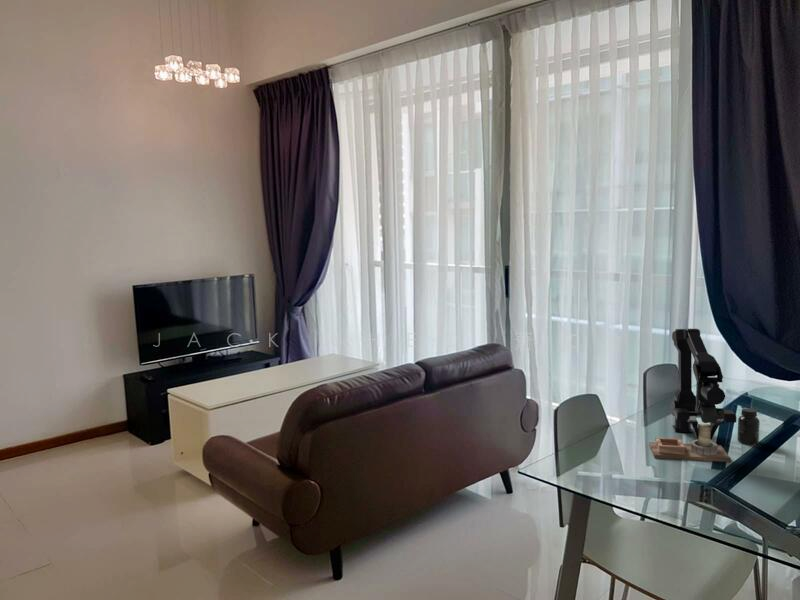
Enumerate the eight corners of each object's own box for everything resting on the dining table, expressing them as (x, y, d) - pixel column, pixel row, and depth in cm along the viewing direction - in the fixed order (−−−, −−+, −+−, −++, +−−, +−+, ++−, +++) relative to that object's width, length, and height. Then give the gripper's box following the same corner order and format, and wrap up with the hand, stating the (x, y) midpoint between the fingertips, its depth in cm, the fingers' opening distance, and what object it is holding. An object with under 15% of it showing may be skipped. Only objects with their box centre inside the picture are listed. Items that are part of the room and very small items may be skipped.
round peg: (696, 444, 217) (696, 423, 216) (708, 445, 216) (709, 423, 215) (698, 449, 213) (699, 427, 212) (711, 449, 212) (712, 427, 211)
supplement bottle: (761, 445, 220) (763, 413, 218) (740, 445, 221) (742, 412, 220) (754, 438, 227) (756, 407, 225) (734, 438, 228) (735, 406, 226)
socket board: (648, 445, 225) (649, 435, 224) (720, 448, 219) (721, 438, 218) (654, 458, 213) (654, 447, 212) (730, 461, 207) (730, 451, 207)
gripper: (681, 401, 206) (679, 446, 208) (742, 403, 202) (740, 449, 204) (674, 392, 217) (673, 434, 219) (732, 393, 213) (730, 436, 215)
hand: (703, 438), depth 214 cm, fingers closed on round peg, 4 cm apart
